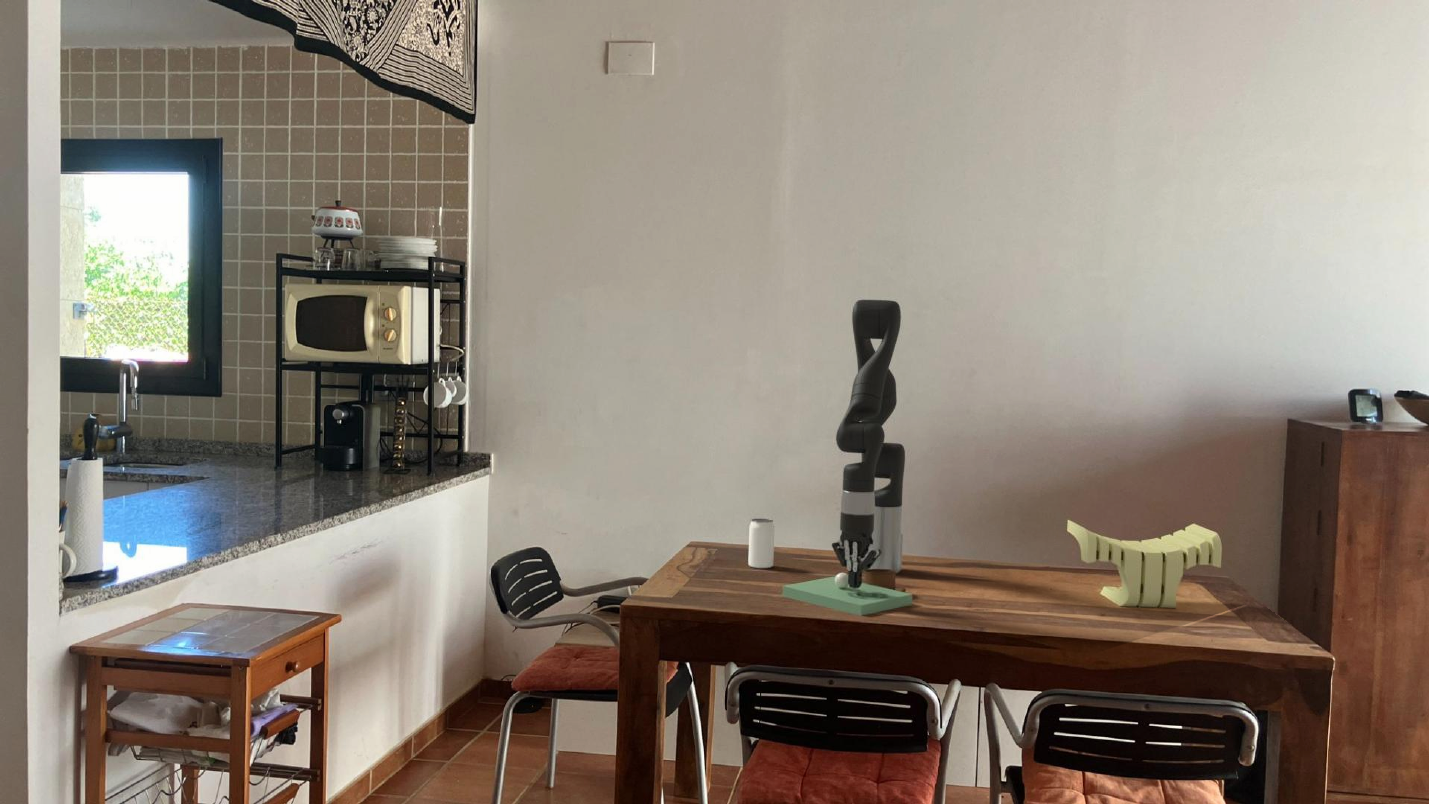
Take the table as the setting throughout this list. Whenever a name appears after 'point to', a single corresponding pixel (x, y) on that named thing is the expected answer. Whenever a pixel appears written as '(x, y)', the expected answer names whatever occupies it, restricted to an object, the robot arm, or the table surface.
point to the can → (761, 543)
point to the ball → (841, 580)
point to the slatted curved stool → (1150, 562)
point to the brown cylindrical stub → (881, 578)
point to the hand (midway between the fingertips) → (854, 587)
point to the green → (847, 596)
